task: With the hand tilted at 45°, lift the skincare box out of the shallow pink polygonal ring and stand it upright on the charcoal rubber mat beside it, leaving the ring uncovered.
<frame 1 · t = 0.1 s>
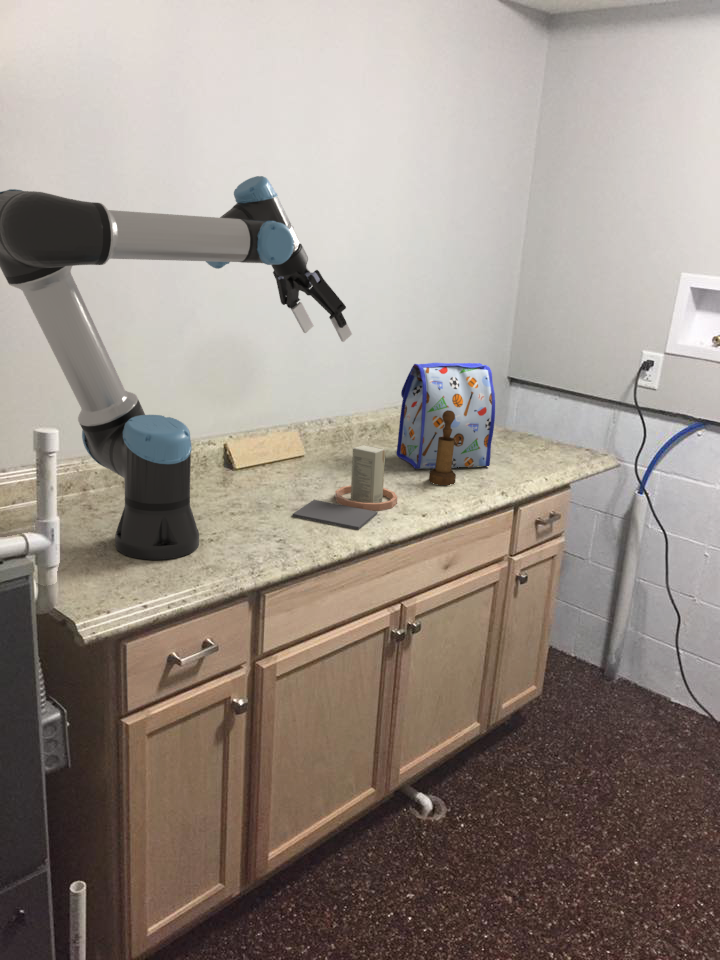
hand: (327, 333, 185), 36 cm above the counter, tool tilted 35°, fingers open, 13 cm apart
rubber mat: (335, 515, 178), on the counter
pink polygonal ring: (365, 500, 190), on the counter
skincare box: (365, 501, 190), resting in pink polygonal ring
mortar and pestle: (441, 482, 208), on the counter
lunch bag: (442, 462, 225), on the counter
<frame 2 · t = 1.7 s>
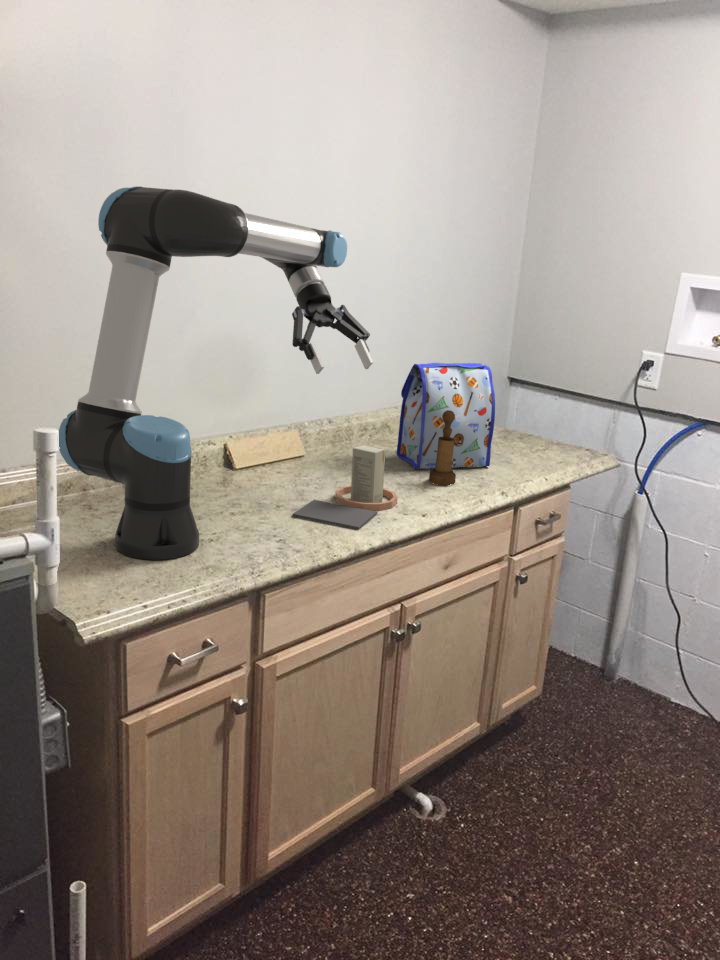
hand: (345, 368, 188), 28 cm above the counter, tool tilted 45°, fingers open, 13 cm apart
nothing on the counter moved.
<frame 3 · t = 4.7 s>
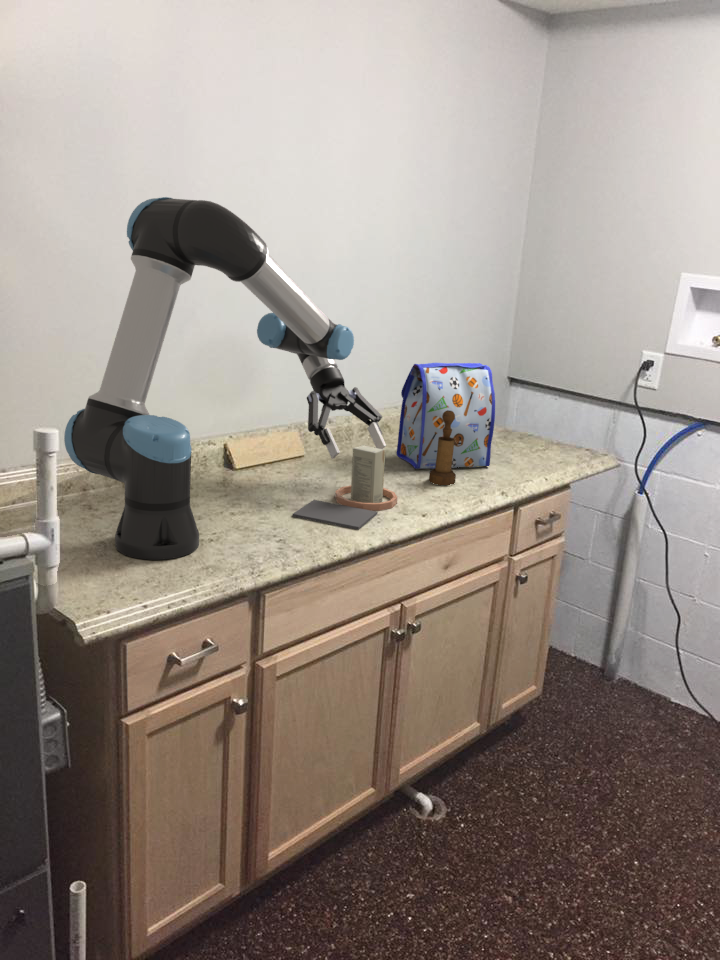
hand: (359, 452, 191), 10 cm above the counter, tool tilted 45°, fingers open, 13 cm apart
nothing on the counter moved.
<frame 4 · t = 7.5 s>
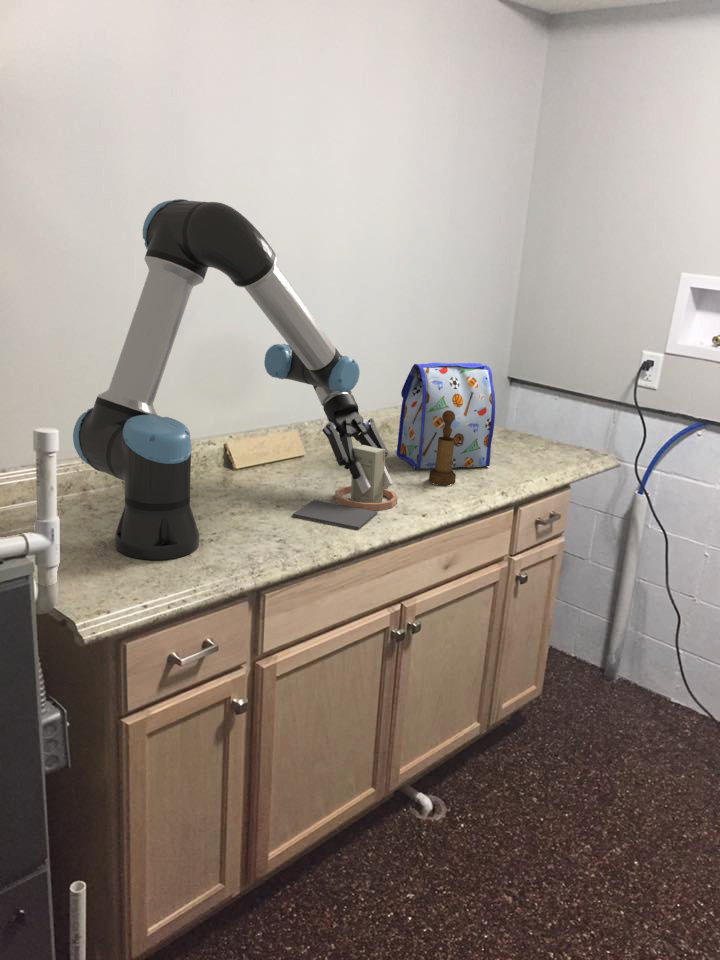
hand: (377, 488, 186), 4 cm above the counter, tool tilted 45°, fingers closed on skincare box, 6 cm apart
skincare box: (365, 501, 190), resting in pink polygonal ring, touching gripper
everything else where it was.
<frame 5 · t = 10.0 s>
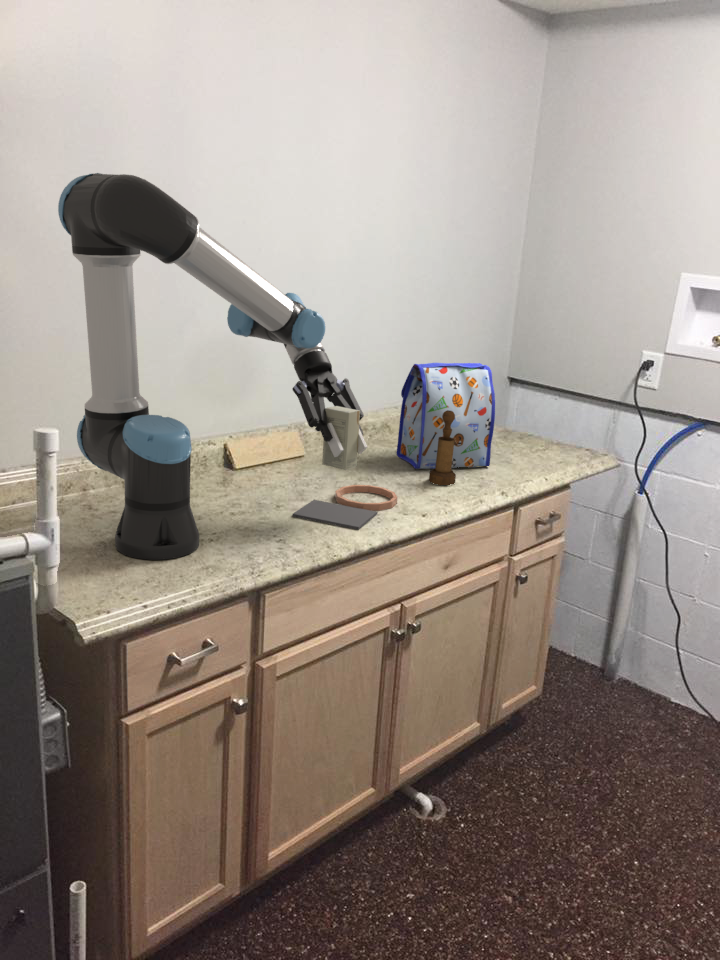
hand: (351, 451, 172), 15 cm above the counter, tool tilted 45°, fingers closed on skincare box, 6 cm apart
skincare box: (338, 466, 176), point 11 cm above the counter, touching gripper
everything else where it was.
when the fingers open (6 cm above the counter, at t = 12.5 s): skincare box drops 1 cm, resting on rubber mat.
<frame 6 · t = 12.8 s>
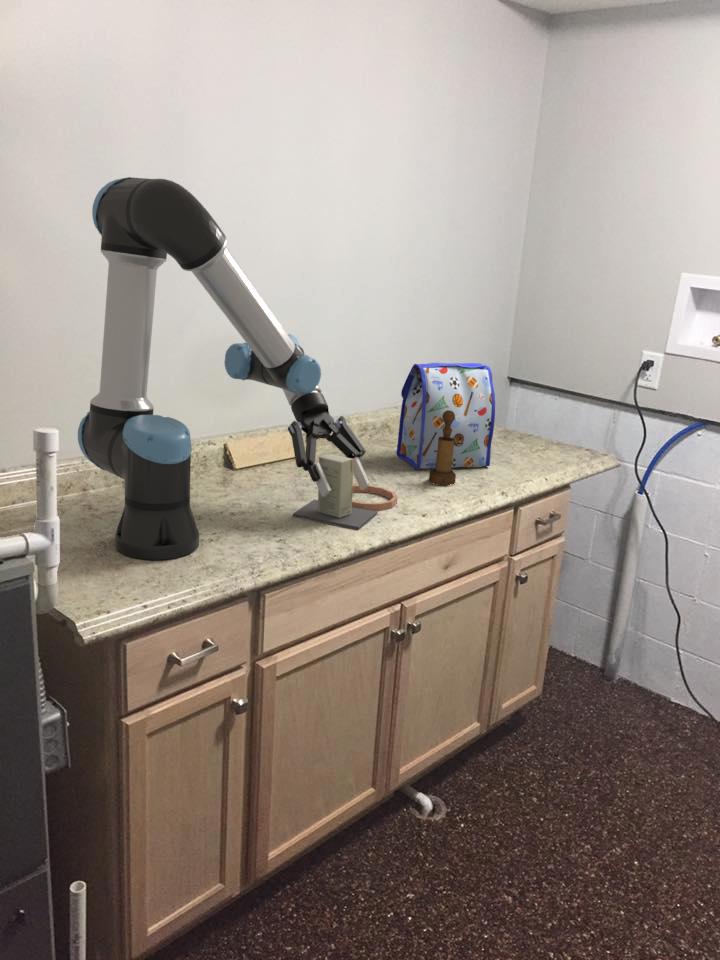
hand: (346, 490, 174), 7 cm above the counter, tool tilted 45°, fingers open, 9 cm apart
skincare box: (334, 513, 178), resting on rubber mat
everything else where it was.
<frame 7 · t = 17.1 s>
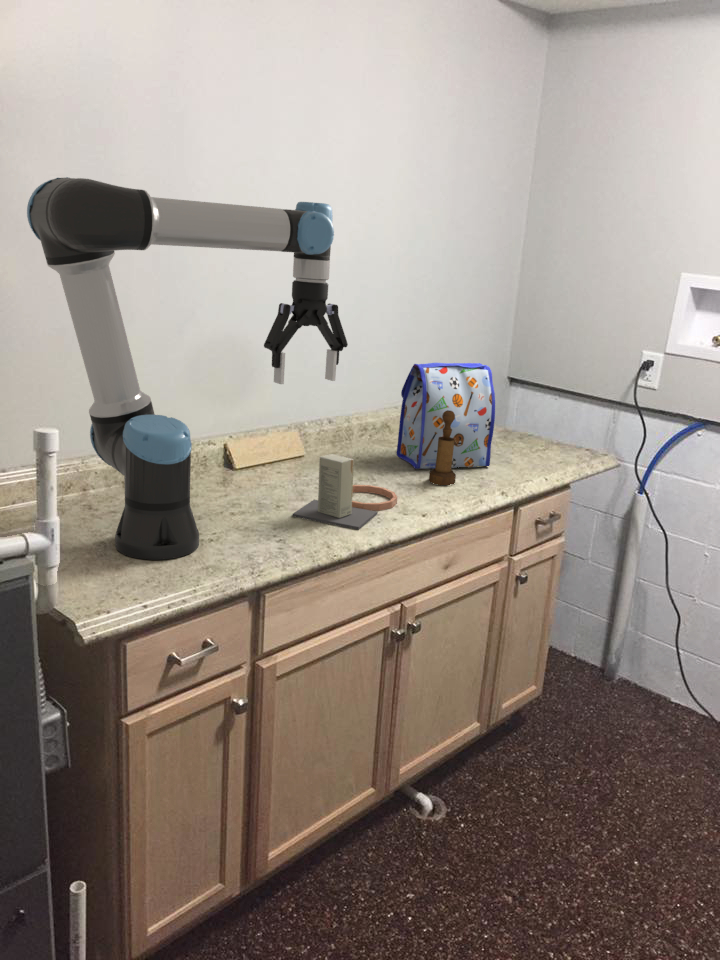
hand: (304, 381, 181), 26 cm above the counter, tool pointing down, fingers open, 13 cm apart
nothing on the counter moved.
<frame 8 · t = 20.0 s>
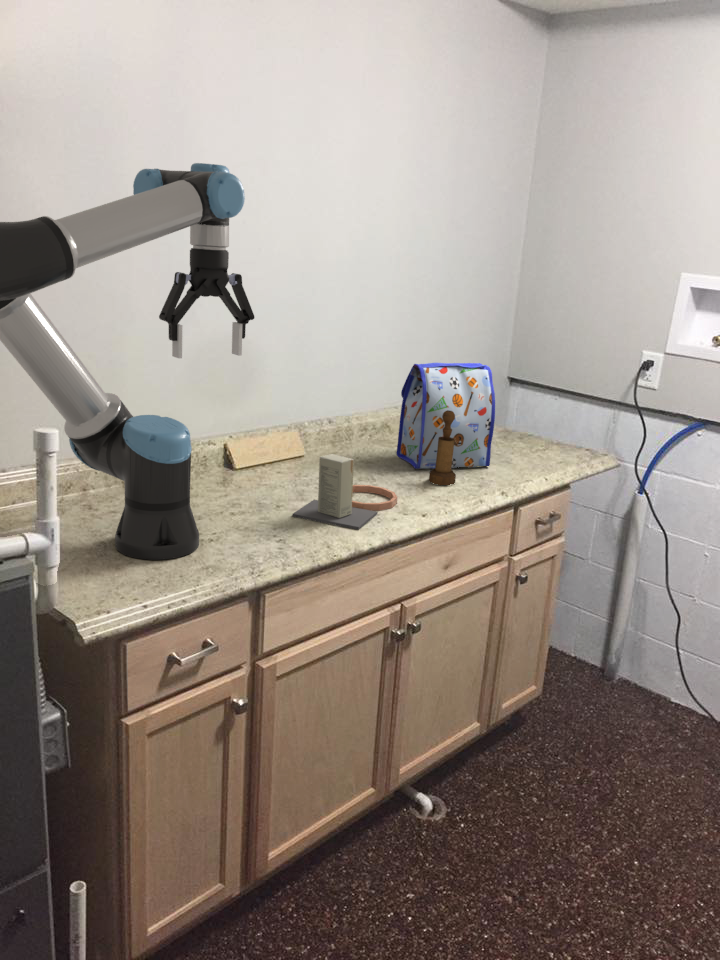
hand: (207, 356, 171), 32 cm above the counter, tool pointing down, fingers open, 13 cm apart
nothing on the counter moved.
at the end: skincare box inside the target area on the rubber mat (0.4 cm from its centre), point 0.4 cm above the rubber mat's base; skincare box tilted 0°; the gripper is holding nothing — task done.
